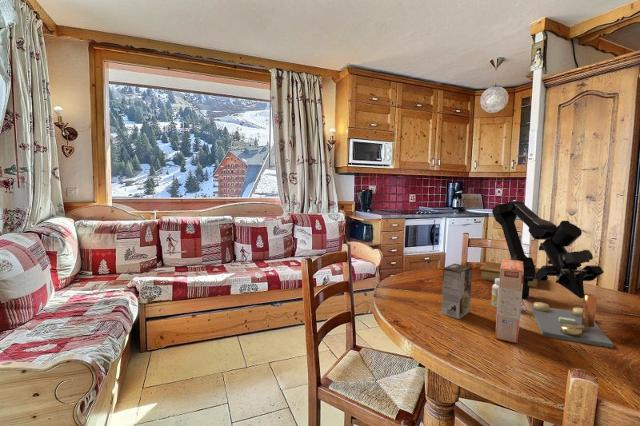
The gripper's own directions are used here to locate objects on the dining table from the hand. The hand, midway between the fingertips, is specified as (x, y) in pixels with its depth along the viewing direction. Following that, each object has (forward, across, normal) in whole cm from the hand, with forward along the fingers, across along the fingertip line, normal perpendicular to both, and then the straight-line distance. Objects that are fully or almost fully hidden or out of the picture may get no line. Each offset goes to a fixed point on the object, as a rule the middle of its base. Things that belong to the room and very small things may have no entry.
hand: (582, 297), depth 100 cm
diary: (-30, +11, +45) cm, 55 cm away
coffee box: (-2, -33, +16) cm, 37 cm away
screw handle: (+9, -4, +3) cm, 10 cm away
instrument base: (+5, -2, +8) cm, 10 cm away
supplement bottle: (-7, -14, +21) cm, 26 cm away
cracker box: (+9, -24, +6) cm, 26 cm away
